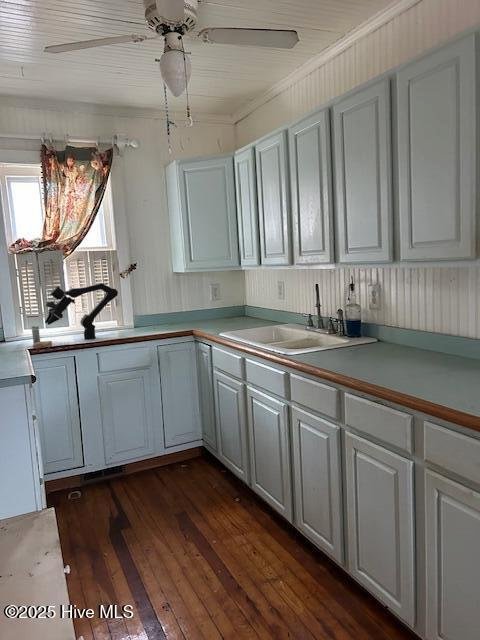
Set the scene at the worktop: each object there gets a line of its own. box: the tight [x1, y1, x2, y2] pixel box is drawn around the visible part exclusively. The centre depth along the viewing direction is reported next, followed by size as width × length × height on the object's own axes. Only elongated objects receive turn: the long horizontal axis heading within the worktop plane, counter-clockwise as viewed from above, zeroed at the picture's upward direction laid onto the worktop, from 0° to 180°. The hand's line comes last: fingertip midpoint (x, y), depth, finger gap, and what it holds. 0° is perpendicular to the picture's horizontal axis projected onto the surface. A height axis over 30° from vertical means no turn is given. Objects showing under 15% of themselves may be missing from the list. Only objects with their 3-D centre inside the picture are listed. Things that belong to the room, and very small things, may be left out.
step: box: [32, 340, 53, 349], centre depth 294 cm, size 9×9×2 cm
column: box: [31, 325, 41, 345], centre depth 300 cm, size 4×4×12 cm
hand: (46, 323), depth 302 cm, fingers open, 9 cm apart
